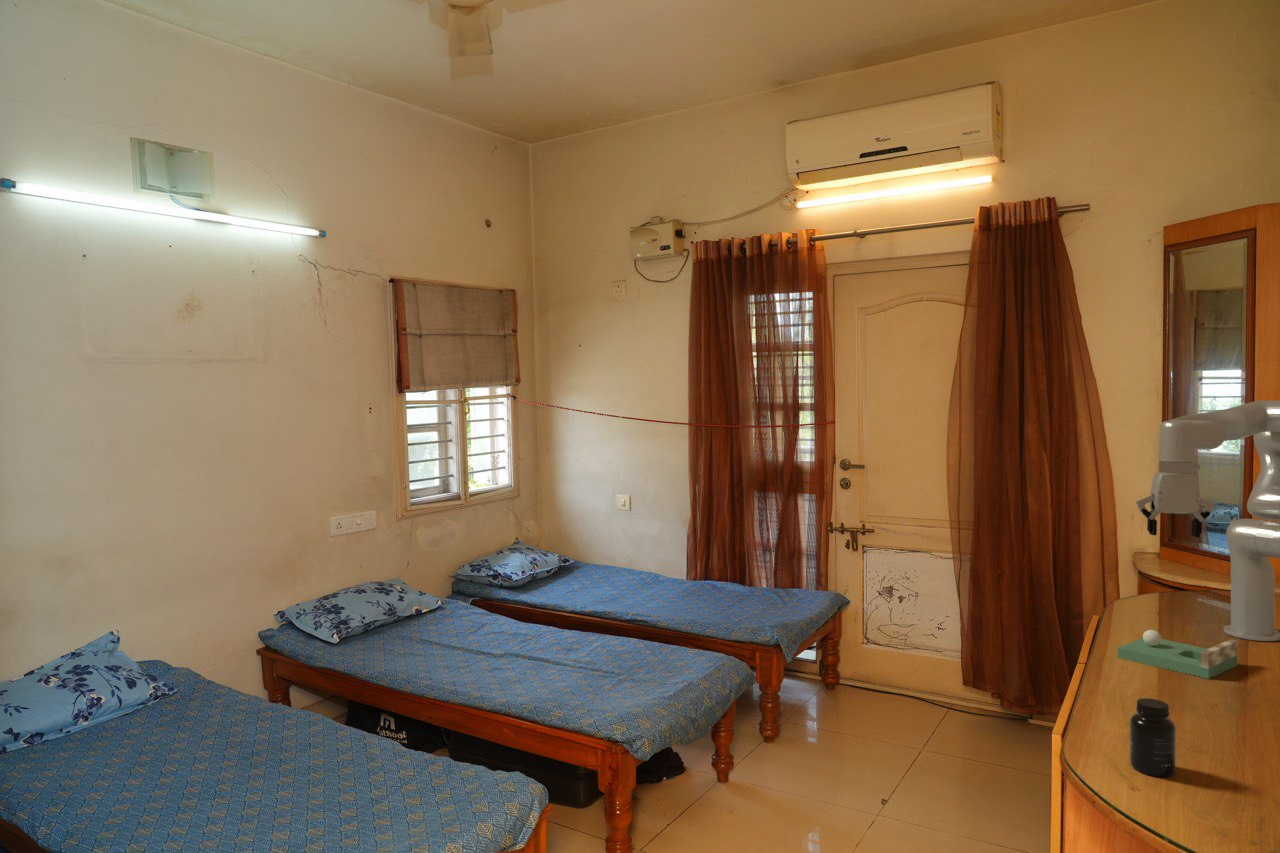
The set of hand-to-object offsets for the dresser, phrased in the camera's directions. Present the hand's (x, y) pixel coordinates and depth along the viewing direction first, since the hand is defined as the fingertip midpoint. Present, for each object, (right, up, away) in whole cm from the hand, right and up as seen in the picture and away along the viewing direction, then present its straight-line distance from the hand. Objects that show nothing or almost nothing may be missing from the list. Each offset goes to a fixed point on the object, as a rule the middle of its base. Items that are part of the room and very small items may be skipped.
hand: (1173, 535), depth 205 cm
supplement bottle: (-46, -33, -63) cm, 84 cm away
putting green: (-4, -30, -7) cm, 31 cm away
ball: (-7, -26, -2) cm, 27 cm away
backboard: (+1, -28, -15) cm, 31 cm away
